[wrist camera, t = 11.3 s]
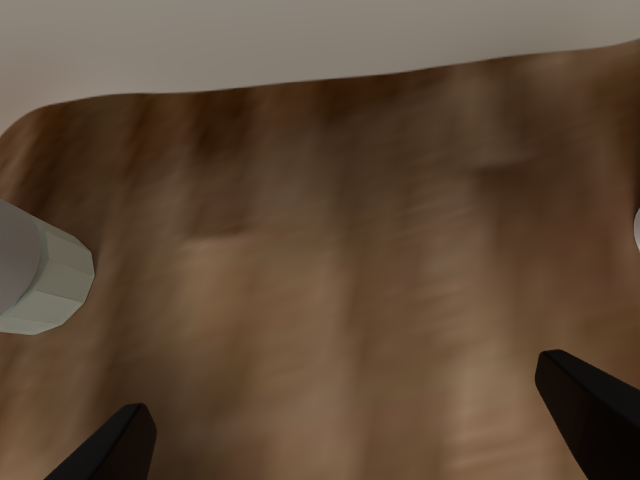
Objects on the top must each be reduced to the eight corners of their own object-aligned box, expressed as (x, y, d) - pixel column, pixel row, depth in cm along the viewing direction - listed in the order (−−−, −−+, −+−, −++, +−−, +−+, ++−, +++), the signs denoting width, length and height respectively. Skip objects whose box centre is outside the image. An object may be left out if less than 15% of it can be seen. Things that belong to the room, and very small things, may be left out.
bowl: (69, 341, 22) (14, 336, 18) (-26, 324, 23) (-98, 316, 19) (108, 241, 24) (66, 219, 21) (20, 229, 25) (-36, 204, 21)
